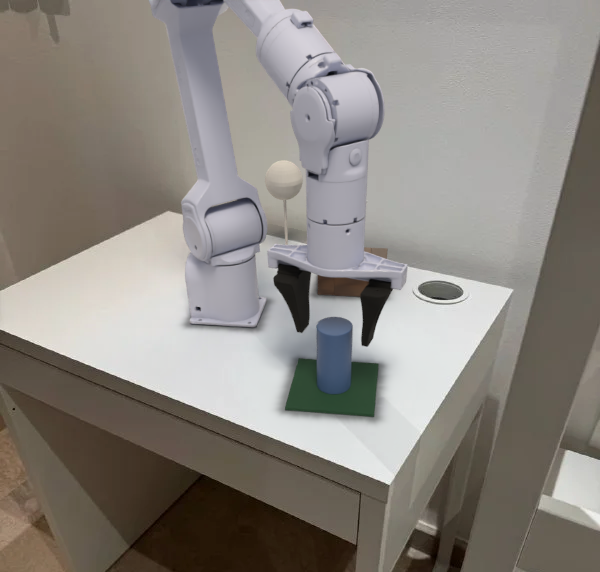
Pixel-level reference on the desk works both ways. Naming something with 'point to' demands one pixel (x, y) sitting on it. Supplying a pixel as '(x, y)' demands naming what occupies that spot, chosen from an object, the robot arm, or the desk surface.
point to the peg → (334, 354)
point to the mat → (348, 403)
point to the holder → (346, 280)
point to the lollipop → (284, 184)
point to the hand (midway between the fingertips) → (334, 334)
